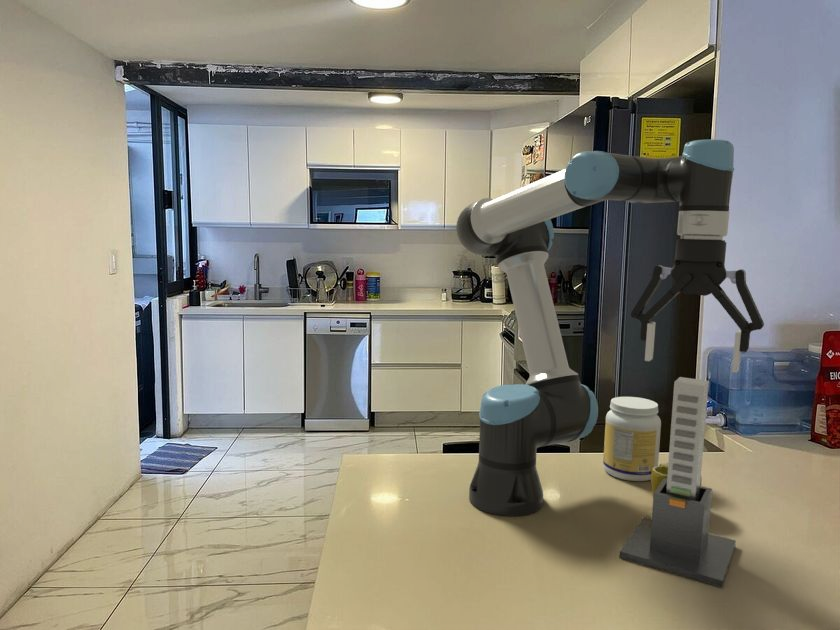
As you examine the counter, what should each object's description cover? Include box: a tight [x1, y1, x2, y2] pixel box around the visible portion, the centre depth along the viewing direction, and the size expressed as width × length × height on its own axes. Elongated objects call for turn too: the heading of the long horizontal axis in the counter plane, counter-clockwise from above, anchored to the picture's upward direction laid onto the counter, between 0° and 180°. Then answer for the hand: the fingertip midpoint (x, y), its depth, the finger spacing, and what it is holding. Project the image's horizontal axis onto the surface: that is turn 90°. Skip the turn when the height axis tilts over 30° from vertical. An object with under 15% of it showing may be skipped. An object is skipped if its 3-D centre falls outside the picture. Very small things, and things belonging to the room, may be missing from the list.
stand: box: [619, 478, 736, 589], centre depth 109 cm, size 16×16×11 cm
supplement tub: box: [602, 396, 662, 482], centre depth 145 cm, size 12×12×17 cm
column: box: [666, 376, 710, 502], centre depth 107 cm, size 5×5×22 cm
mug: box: [650, 462, 703, 496], centre depth 128 cm, size 12×10×10 cm
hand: (690, 365), depth 105 cm, fingers open, 13 cm apart
